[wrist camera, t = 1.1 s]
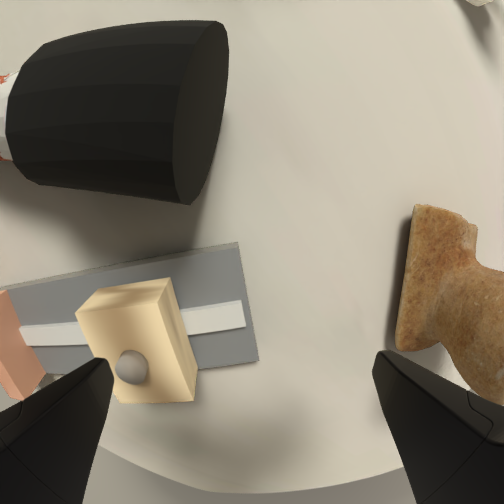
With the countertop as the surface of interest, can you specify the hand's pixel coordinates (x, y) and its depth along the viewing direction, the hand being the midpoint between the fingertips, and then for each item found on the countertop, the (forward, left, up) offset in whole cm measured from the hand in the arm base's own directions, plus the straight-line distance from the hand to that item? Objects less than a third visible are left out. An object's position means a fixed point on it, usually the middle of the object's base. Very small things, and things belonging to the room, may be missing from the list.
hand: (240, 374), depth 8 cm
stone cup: (+19, -6, -14) cm, 25 cm away
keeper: (-8, -4, -11) cm, 14 cm away
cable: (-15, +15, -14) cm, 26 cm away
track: (-13, -4, -14) cm, 19 cm away
